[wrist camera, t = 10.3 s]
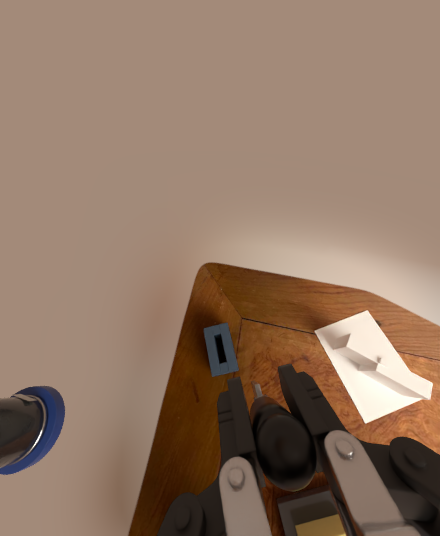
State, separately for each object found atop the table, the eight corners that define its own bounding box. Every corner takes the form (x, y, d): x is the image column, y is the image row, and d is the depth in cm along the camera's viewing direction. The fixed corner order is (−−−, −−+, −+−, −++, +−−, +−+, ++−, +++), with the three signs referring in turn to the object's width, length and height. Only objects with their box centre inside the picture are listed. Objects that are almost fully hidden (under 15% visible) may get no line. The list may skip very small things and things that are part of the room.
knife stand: (216, 376, 37) (211, 376, 32) (208, 334, 40) (203, 328, 35) (239, 370, 37) (238, 369, 32) (229, 329, 40) (227, 322, 35)
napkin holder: (429, 396, 33) (463, 400, 28) (366, 424, 32) (389, 434, 27) (366, 309, 40) (385, 300, 35) (313, 331, 39) (324, 324, 34)
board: (301, 600, 25) (304, 612, 24) (276, 498, 29) (277, 504, 28) (411, 569, 25) (420, 580, 24) (370, 473, 29) (377, 477, 28)
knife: (252, 420, 23) (277, 548, 6) (243, 383, 24) (243, 404, 8) (271, 414, 23) (350, 529, 6) (261, 378, 24) (300, 389, 8)
